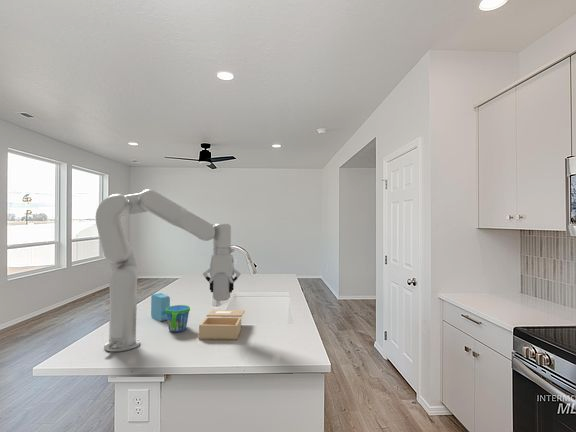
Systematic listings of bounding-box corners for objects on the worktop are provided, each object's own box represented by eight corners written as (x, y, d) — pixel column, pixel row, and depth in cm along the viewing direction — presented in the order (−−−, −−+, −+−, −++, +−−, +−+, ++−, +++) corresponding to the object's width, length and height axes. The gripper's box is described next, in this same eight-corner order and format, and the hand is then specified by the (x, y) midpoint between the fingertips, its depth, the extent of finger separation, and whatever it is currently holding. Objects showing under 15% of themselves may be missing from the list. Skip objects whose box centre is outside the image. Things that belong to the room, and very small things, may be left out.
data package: (169, 320, 164) (170, 296, 165) (160, 322, 161) (161, 297, 162) (159, 315, 173) (159, 292, 173) (150, 317, 170) (151, 293, 170)
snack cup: (183, 336, 141) (184, 312, 142) (159, 335, 141) (159, 312, 142) (193, 325, 157) (194, 303, 157) (172, 324, 157) (172, 303, 157)
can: (222, 296, 149) (223, 270, 149) (233, 299, 144) (234, 271, 144) (209, 299, 143) (209, 271, 143) (220, 302, 138) (220, 273, 139)
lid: (244, 310, 162) (244, 311, 162) (212, 309, 162) (212, 311, 162) (241, 315, 150) (241, 316, 150) (206, 314, 150) (206, 316, 150)
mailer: (236, 340, 137) (237, 325, 137) (198, 339, 137) (199, 325, 137) (241, 330, 149) (241, 317, 149) (206, 330, 149) (206, 317, 149)
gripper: (242, 251, 148) (242, 290, 147) (204, 250, 148) (204, 290, 147) (240, 252, 140) (240, 293, 140) (200, 252, 140) (199, 293, 140)
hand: (221, 291), depth 144 cm, fingers closed on can, 7 cm apart
